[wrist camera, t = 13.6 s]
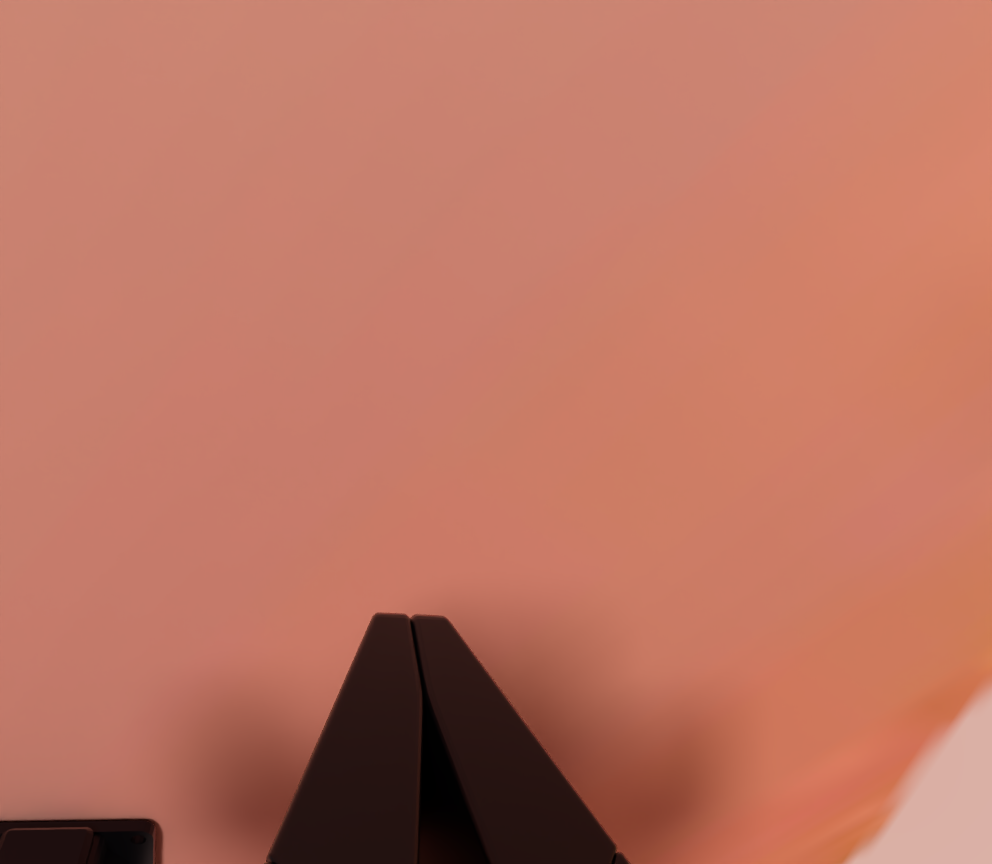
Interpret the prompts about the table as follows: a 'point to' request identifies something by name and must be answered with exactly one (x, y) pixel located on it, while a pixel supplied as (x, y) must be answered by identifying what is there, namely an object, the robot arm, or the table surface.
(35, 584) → the table surface
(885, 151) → the table surface
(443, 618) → the robot arm
